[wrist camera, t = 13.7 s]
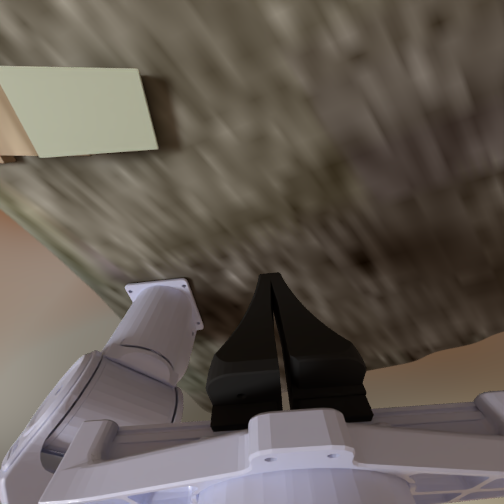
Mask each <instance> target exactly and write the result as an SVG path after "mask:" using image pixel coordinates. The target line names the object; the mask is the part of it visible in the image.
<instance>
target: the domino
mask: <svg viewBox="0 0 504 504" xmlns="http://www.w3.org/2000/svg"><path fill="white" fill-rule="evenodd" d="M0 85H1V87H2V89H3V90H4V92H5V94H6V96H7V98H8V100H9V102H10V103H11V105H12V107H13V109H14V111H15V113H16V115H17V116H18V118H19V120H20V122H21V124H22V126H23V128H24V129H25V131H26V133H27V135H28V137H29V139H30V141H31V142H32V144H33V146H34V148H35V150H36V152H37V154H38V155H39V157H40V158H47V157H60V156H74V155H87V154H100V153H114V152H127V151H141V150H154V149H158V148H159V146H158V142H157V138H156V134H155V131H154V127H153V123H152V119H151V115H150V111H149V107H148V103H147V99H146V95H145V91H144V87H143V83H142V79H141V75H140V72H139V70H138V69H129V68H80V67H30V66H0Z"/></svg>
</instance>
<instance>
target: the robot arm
mask: <svg viewBox="0 0 504 504" xmlns="http://www.w3.org/2000/svg"><path fill="white" fill-rule="evenodd" d="M184 285H186V286H184ZM125 289H126V291H127V293H128V295H129V296H130V298H131V300H132V301H133V304H132V305H131V307H130V308H129V310H128V311H127V313H126V315H125V316H124V318H123V319H122V321H121V322H120V324H119V325H118V327H117V328H116V330H115V332H114V333H113V335H112V336H111V338H110V339H109V341H108V342H107V344H106V345H105V347H104V348H103V350H102V351H101V352H99V351H97V350H95V351H92V352H91V353H87V354H85V355H83V356H81V357H80V358H79V359H78V360H77V361H76V362H75V363H74V364H73V365H72V367H71V368H70V369H69V370H68V371H67V372H66V374H65V375H64V376H63V377H62V378H61V379H60V381H59V382H58V383H57V384H56V386H55V387H54V388H53V389H52V391H51V392H50V393H49V395H48V396H47V397H46V398H45V400H44V401H43V403H42V404H41V405H40V407H39V408H38V409H37V411H36V412H35V414H34V415H33V417H32V418H31V420H30V421H29V423H28V424H27V426H26V428H25V429H24V431H23V432H22V433H21V435H20V436H19V437H18V438H17V440H16V441H15V442H14V444H13V445H12V446H11V448H10V449H9V451H8V452H7V454H6V456H5V458H4V460H3V462H2V468H1V470H0V500H1V503H2V504H441V503H452V502H461V501H470V500H478V499H489V498H500V497H504V390H503V391H490V392H484V393H481V394H479V395H478V396H477V397H476V398H475V399H474V402H464V403H449V404H435V405H421V406H406V407H392V408H378V409H371V407H370V405H369V403H368V400H367V398H366V396H365V395H366V390H365V388H364V386H363V379H364V376H365V373H366V366H365V363H364V361H363V359H362V357H361V356H360V354H359V352H358V351H357V349H356V348H355V346H354V345H353V344H352V343H351V342H350V341H348V340H346V339H345V338H343V337H342V336H340V335H338V334H337V333H335V332H334V331H332V330H331V329H330V328H328V327H327V326H326V325H325V324H323V323H322V322H321V321H320V320H318V319H317V318H316V317H315V316H314V315H313V314H311V313H310V312H309V311H308V310H307V309H306V308H305V307H304V306H303V305H302V304H301V302H300V301H299V300H298V299H297V298H296V297H295V295H294V294H293V293H292V291H291V290H290V289H289V287H288V286H287V284H286V283H285V281H284V280H283V278H282V276H281V274H280V273H279V272H277V273H267V274H260V275H259V278H258V283H257V287H256V290H255V293H254V296H253V298H252V301H251V303H250V305H249V308H248V310H247V311H246V313H245V315H244V317H243V319H242V320H241V322H240V323H239V325H238V327H237V328H236V329H235V331H234V332H233V333H232V335H231V336H230V337H229V339H228V340H227V341H226V342H225V344H224V345H223V346H222V347H221V348H220V349H219V350H218V351H217V352H216V354H215V355H214V357H213V360H212V363H211V366H210V369H209V373H208V378H207V384H206V391H207V394H208V396H209V398H210V400H211V402H212V405H213V408H212V416H211V420H208V421H195V422H181V419H182V414H183V393H182V391H181V389H180V388H179V387H177V386H176V385H177V382H178V381H179V380H180V379H181V378H182V377H183V375H184V373H185V372H186V369H187V367H188V363H189V359H190V355H191V351H192V347H193V343H194V339H195V335H196V331H197V330H202V329H203V328H204V325H203V322H202V319H201V317H200V314H199V311H198V308H197V306H196V303H195V300H194V297H193V294H192V292H191V289H190V286H189V283H188V281H187V279H185V278H180V279H171V280H161V281H151V282H142V283H132V284H127V285H126V286H125ZM273 311H274V316H275V320H276V324H277V328H278V333H279V337H280V341H281V346H282V353H283V360H284V367H285V374H286V382H287V389H288V396H289V404H290V410H284V411H283V409H282V396H281V385H280V373H279V365H278V357H277V350H276V343H275V336H274V319H273ZM55 451H56V452H55ZM59 452H60V453H59ZM63 453H64V454H63Z"/></svg>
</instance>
